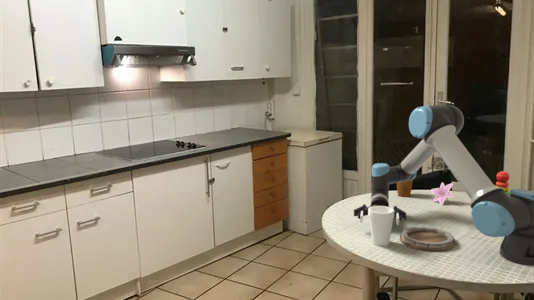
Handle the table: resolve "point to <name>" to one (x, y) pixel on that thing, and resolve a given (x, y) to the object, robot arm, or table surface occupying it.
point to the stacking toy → (503, 181)
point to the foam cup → (380, 224)
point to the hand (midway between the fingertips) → (379, 220)
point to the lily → (442, 192)
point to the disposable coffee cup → (404, 188)
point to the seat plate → (427, 239)
